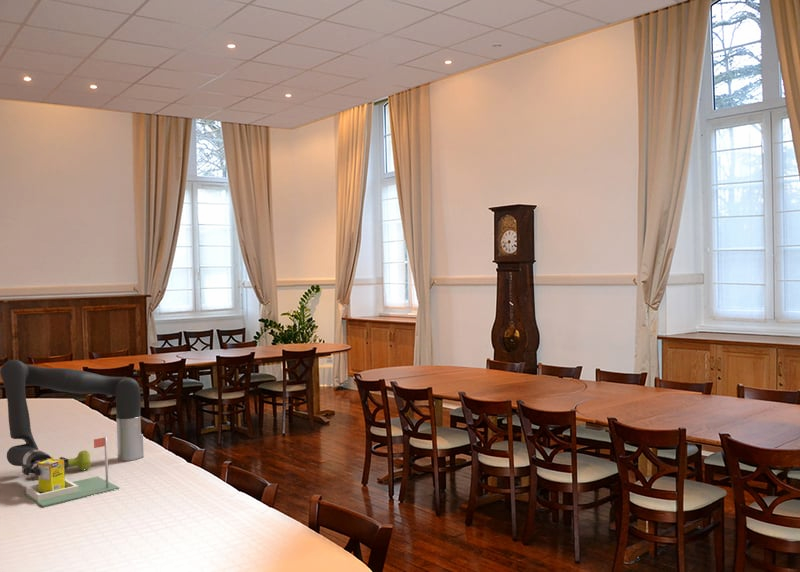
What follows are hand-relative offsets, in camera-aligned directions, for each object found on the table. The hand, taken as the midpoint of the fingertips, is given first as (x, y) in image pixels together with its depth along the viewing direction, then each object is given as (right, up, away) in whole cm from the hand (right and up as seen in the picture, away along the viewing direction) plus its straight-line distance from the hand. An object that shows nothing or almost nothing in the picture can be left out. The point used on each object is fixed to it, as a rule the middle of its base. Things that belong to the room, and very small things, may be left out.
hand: (52, 469), depth 235 cm
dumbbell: (-8, -9, +27) cm, 30 cm away
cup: (+6, -8, +2) cm, 10 cm away
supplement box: (0, -8, +1) cm, 8 cm away
